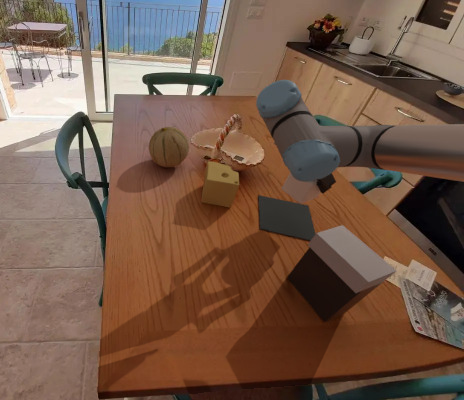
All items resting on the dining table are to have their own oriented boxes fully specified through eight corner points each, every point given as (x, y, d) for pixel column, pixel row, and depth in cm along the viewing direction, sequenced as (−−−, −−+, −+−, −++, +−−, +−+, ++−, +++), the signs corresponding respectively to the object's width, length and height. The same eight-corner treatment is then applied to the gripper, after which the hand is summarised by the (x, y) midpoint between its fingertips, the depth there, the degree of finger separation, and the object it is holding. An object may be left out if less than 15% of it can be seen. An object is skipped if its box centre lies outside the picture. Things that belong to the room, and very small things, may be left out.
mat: (317, 242, 77) (317, 241, 77) (259, 229, 80) (260, 228, 80) (307, 206, 89) (308, 205, 89) (258, 195, 92) (258, 194, 91)
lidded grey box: (319, 324, 60) (368, 282, 48) (282, 279, 68) (316, 232, 56) (343, 314, 62) (397, 270, 50) (304, 271, 70) (342, 224, 58)
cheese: (231, 189, 94) (239, 165, 87) (231, 209, 86) (240, 186, 79) (201, 183, 95) (207, 160, 88) (199, 203, 87) (205, 179, 80)
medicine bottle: (317, 198, 77) (340, 163, 68) (300, 204, 74) (322, 169, 66) (297, 183, 81) (316, 149, 73) (280, 189, 79) (298, 154, 71)
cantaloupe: (191, 172, 100) (199, 136, 90) (154, 177, 96) (157, 140, 86) (177, 151, 110) (182, 117, 100) (143, 155, 107) (145, 120, 97)
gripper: (253, 128, 68) (278, 169, 84) (315, 175, 55) (332, 213, 70) (277, 106, 66) (299, 152, 82) (348, 149, 52) (358, 194, 68)
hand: (314, 180), depth 76 cm, fingers closed on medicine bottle, 8 cm apart
